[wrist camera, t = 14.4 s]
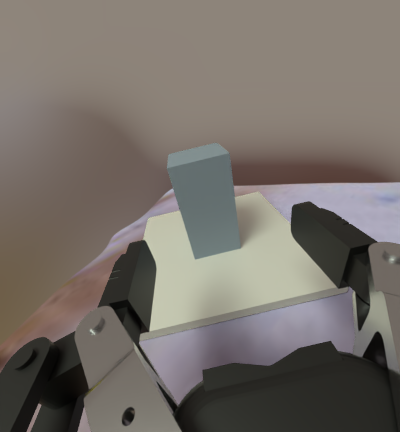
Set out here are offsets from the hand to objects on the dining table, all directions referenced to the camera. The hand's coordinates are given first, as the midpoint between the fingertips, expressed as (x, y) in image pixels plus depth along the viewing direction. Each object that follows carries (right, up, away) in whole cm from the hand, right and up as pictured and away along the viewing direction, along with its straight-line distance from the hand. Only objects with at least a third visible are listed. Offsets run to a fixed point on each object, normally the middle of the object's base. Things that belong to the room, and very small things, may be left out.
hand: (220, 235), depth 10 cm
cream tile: (+1, -3, +12) cm, 13 cm away
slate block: (+1, -2, +12) cm, 12 cm away
